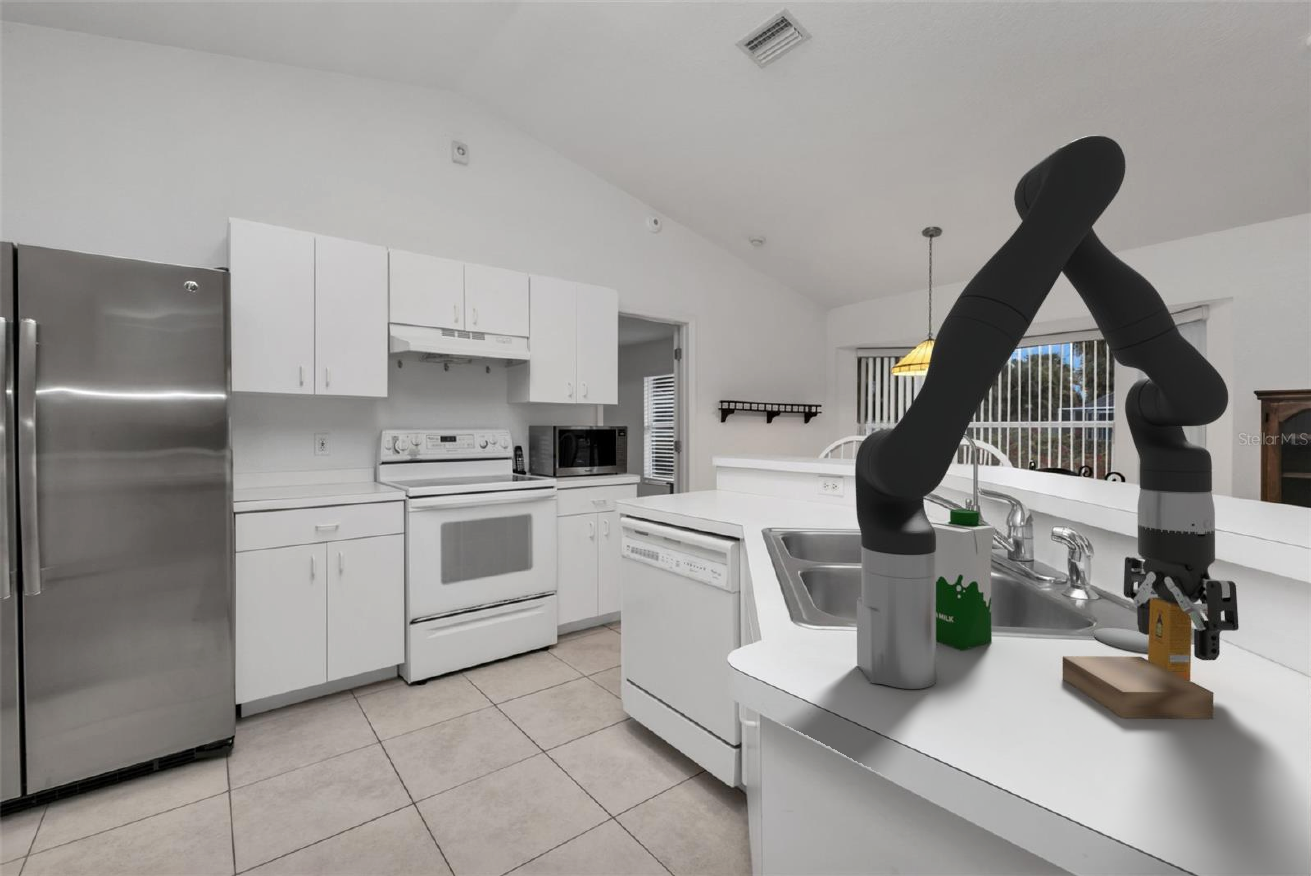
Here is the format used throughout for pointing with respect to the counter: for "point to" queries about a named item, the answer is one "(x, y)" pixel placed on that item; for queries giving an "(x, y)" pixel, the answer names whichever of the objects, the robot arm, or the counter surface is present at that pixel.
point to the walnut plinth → (1137, 687)
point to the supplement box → (1170, 637)
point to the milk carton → (963, 580)
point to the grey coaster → (1123, 639)
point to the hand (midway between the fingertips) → (1175, 645)
